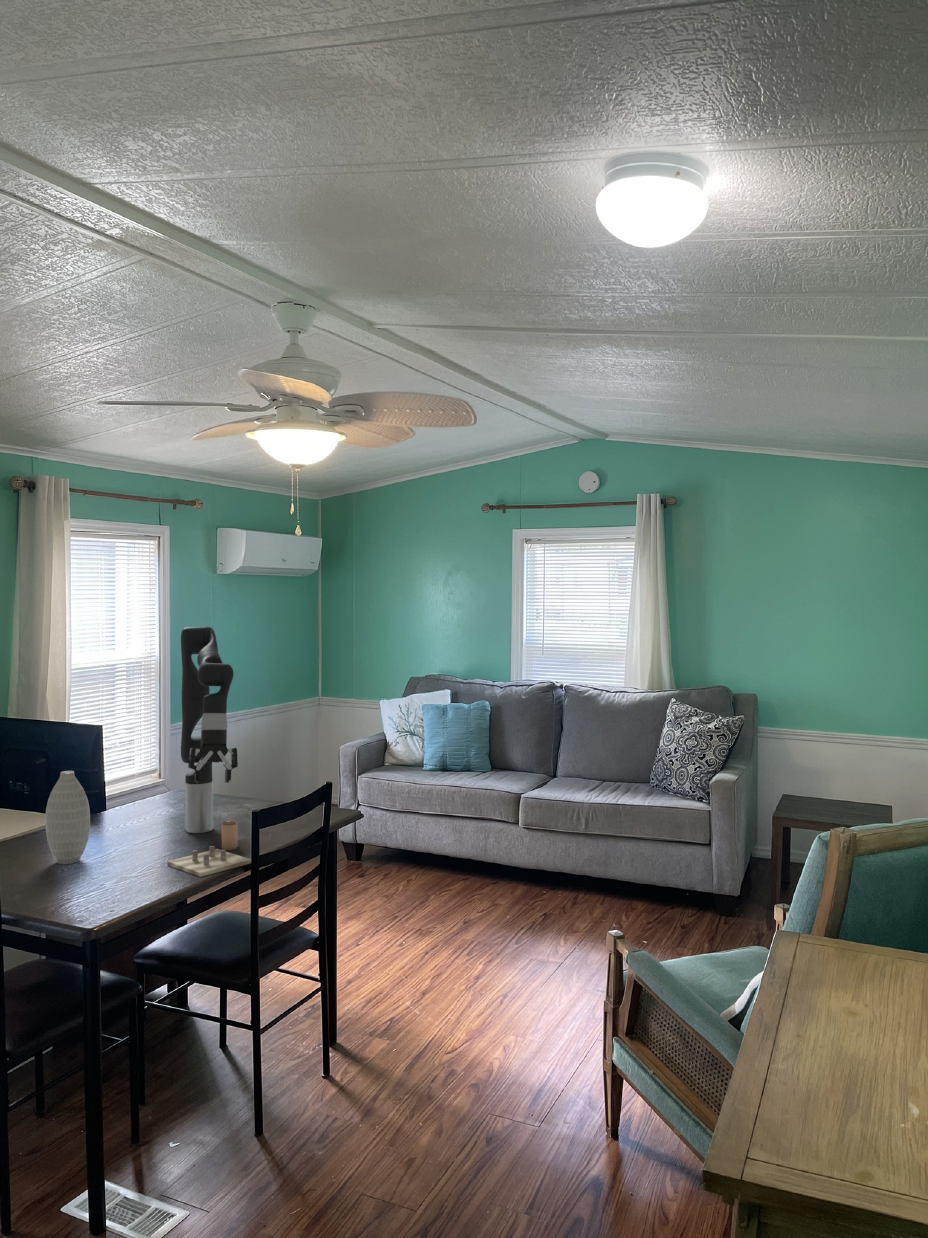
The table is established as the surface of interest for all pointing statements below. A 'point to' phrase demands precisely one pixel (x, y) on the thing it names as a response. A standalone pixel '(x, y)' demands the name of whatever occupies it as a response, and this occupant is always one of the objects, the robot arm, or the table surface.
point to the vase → (67, 819)
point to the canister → (229, 834)
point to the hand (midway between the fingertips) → (212, 783)
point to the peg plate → (212, 861)
